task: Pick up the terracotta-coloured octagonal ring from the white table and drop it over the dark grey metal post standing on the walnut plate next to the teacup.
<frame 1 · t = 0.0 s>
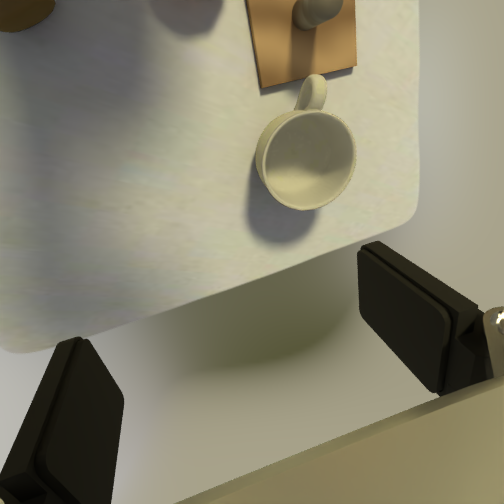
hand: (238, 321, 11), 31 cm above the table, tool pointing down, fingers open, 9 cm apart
post plate: (302, 15, 34), on the table
teacup: (289, 140, 40), on the table
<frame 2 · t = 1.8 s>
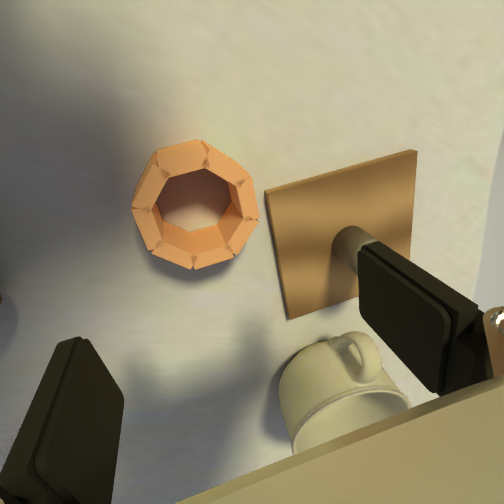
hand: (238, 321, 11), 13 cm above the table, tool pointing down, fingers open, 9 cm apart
post plate: (343, 238, 26), on the table
ring: (193, 196, 21), on the table
teacup: (319, 351, 32), on the table
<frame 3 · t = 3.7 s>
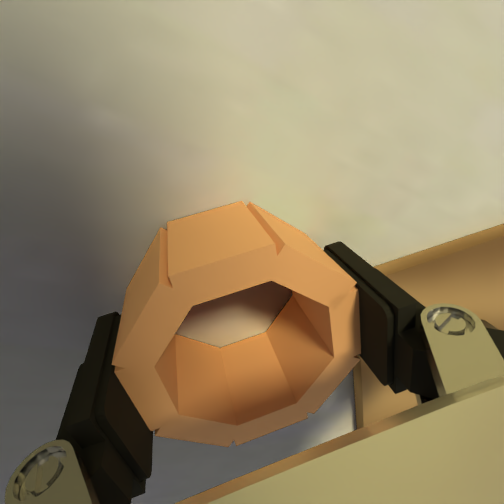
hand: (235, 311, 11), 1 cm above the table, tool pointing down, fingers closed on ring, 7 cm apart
post plate: (453, 332, 17), on the table
ring: (229, 293, 12), on the table, touching gripper
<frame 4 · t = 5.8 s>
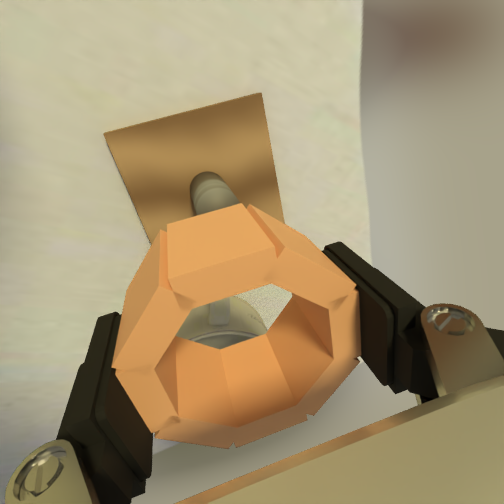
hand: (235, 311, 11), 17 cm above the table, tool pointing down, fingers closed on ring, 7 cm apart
post plate: (206, 187, 26), on the table
ring: (229, 295, 12), point 16 cm above the table, touching gripper
teacup: (210, 309, 32), on the table
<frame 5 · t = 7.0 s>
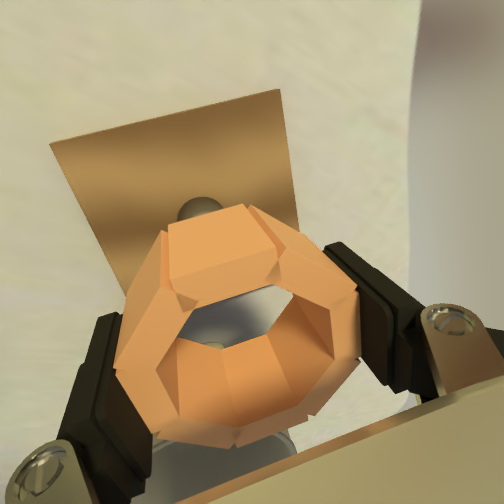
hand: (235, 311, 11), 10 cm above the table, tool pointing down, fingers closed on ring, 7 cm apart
post plate: (200, 216, 19), on the table
ring: (230, 295, 12), point 9 cm above the table, touching gripper
teacup: (204, 366, 25), on the table
when the fingers open (9 cm above the table, at t = 8.1 s): ring drops 7 cm, resting on post plate.
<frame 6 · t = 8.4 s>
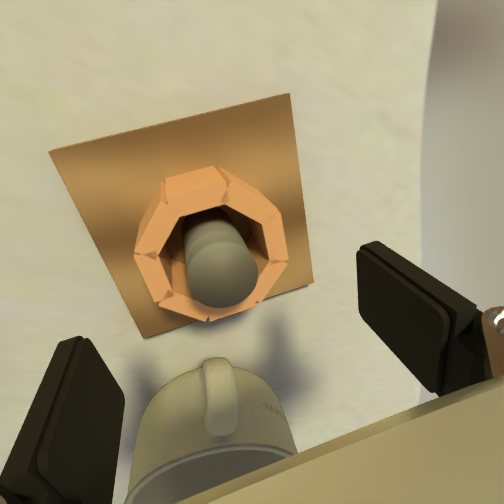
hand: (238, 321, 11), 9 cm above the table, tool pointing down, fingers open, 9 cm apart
post plate: (206, 225, 19), on the table
ring: (207, 230, 18), point 1 cm above the table, touching post plate
teacup: (208, 379, 24), on the table
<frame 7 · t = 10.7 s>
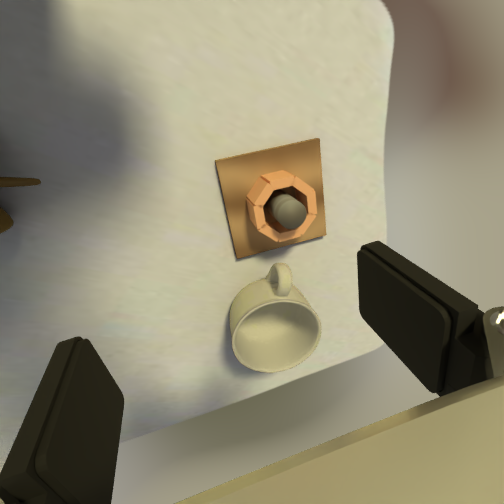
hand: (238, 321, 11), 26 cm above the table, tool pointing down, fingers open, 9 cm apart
post plate: (274, 199, 37), on the table
ring: (276, 201, 37), point 1 cm above the table, touching post plate
teacup: (264, 292, 43), on the table
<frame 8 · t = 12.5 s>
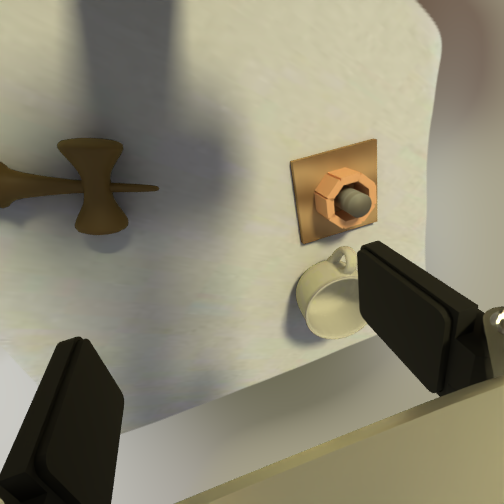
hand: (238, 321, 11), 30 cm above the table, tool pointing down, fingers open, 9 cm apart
post plate: (335, 192, 44), on the table
kendama: (67, 179, 35), on the table
ring: (338, 194, 43), point 1 cm above the table, touching post plate
teacup: (321, 272, 49), on the table
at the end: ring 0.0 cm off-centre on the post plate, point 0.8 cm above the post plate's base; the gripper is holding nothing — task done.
